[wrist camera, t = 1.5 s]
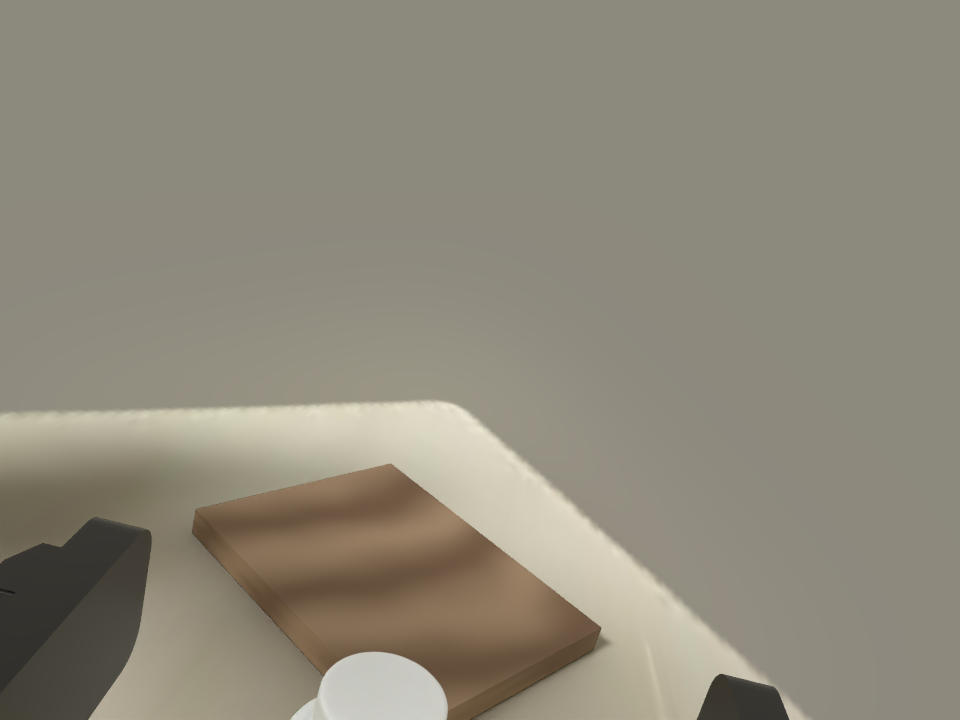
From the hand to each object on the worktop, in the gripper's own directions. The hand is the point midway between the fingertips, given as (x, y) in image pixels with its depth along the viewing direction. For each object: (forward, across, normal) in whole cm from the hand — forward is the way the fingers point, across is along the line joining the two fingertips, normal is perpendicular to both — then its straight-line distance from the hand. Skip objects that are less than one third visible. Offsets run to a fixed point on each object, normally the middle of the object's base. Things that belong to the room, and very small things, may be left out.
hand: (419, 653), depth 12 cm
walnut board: (+31, +1, +20) cm, 37 cm away
